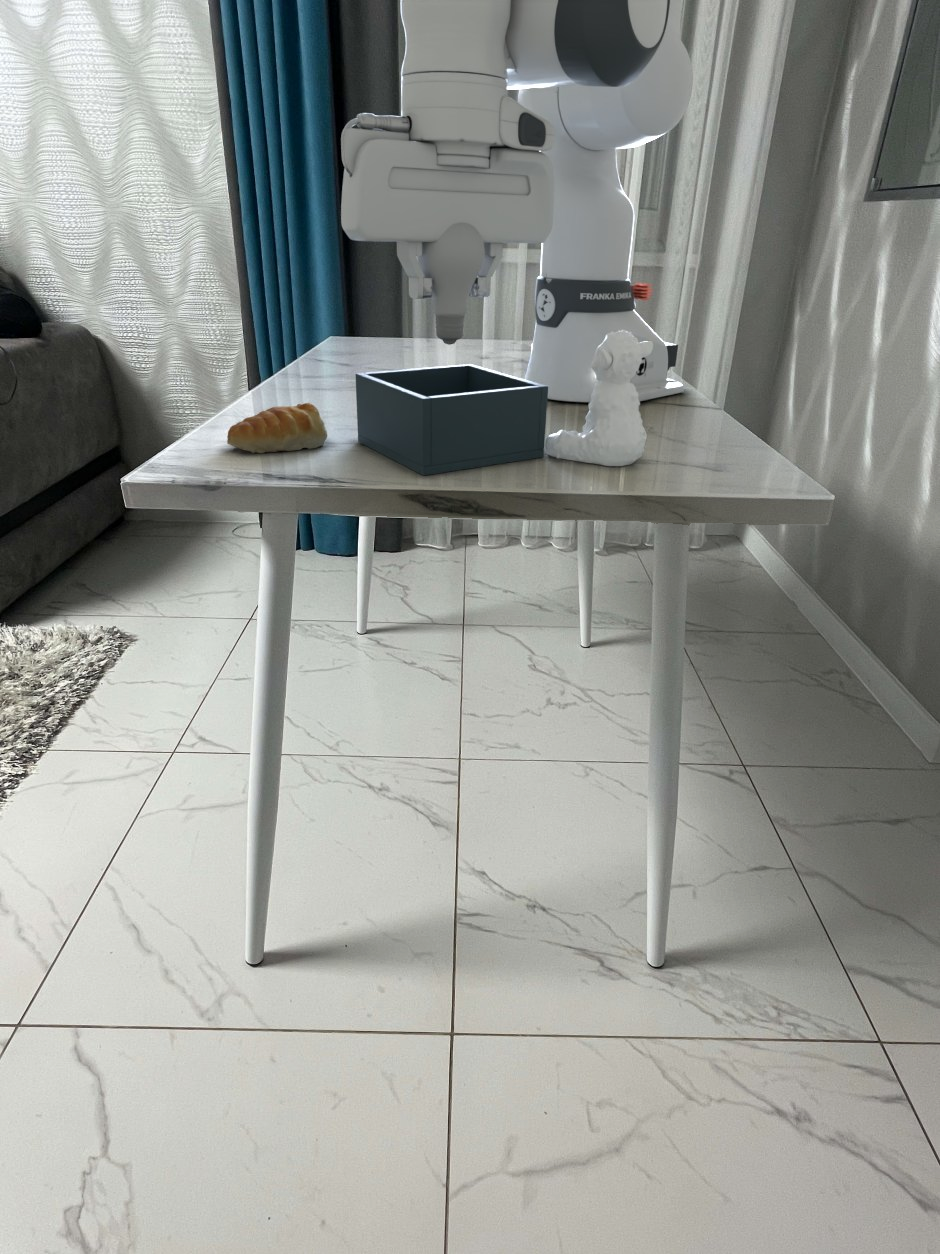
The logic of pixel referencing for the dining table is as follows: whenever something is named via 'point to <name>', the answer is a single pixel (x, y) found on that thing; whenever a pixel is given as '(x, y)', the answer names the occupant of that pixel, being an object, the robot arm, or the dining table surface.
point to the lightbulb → (452, 276)
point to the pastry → (280, 430)
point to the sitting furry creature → (609, 408)
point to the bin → (451, 417)
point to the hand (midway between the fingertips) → (450, 297)
